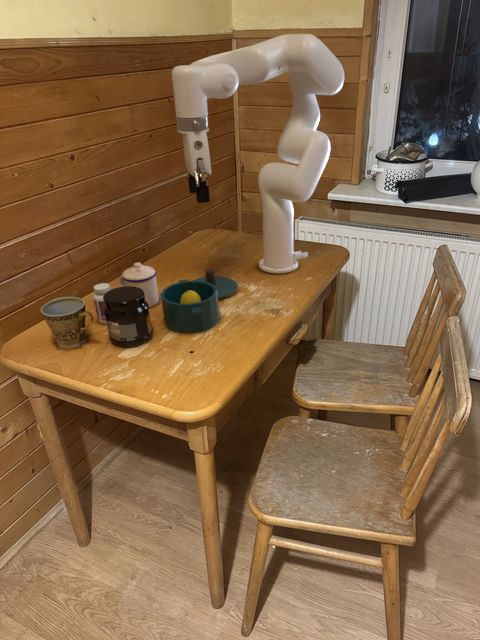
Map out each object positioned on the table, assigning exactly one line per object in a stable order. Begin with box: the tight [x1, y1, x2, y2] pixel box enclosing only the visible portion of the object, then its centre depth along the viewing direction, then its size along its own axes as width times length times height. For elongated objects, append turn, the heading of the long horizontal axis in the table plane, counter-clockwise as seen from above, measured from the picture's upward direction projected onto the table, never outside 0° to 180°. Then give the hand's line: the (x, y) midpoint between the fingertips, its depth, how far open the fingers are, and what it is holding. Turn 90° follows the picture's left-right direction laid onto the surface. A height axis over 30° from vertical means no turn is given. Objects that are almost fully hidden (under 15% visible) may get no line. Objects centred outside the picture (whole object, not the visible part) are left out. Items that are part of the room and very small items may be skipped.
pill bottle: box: [92, 282, 111, 325], centre depth 132 cm, size 5×5×10 cm
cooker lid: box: [192, 268, 238, 300], centre depth 147 cm, size 15×15×6 cm
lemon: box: [180, 290, 201, 304], centre depth 131 cm, size 6×6×8 cm
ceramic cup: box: [40, 296, 95, 350], centre depth 122 cm, size 13×10×10 cm
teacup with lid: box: [118, 262, 160, 308], centre depth 140 cm, size 12×9×12 cm
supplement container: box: [103, 286, 153, 348], centre depth 123 cm, size 10×10×12 cm
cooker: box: [160, 279, 220, 334], centre depth 131 cm, size 14×20×8 cm
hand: (199, 197), depth 129 cm, fingers open, 9 cm apart
